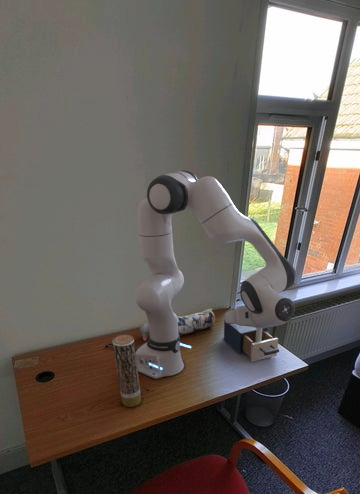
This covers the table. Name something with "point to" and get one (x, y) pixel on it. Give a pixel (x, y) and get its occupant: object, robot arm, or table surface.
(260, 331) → the marker
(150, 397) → the table surface
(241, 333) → the cabinet
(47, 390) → the table surface
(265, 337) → the drawer
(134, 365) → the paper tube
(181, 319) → the pencil case
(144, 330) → the dog figurine
